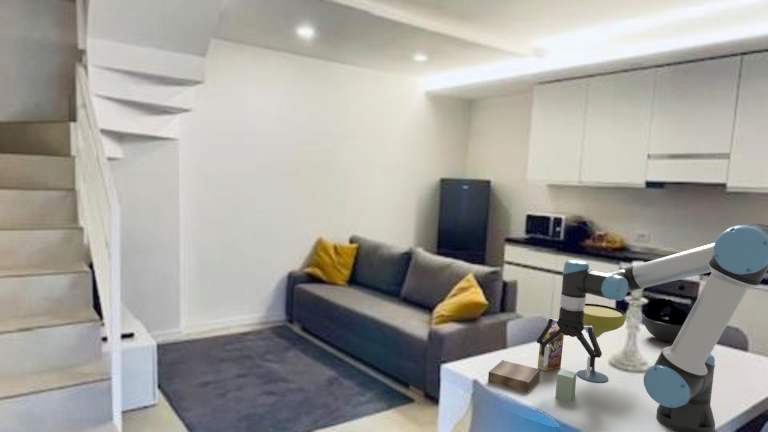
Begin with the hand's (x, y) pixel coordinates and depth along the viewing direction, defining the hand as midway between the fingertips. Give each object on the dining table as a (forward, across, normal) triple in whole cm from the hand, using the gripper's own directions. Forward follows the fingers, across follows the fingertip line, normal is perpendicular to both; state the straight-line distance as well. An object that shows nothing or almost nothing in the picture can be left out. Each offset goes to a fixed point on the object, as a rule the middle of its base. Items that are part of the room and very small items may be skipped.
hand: (566, 370), depth 166 cm
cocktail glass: (+9, -4, -24) cm, 26 cm away
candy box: (+9, +10, -22) cm, 26 cm away
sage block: (+9, 0, 0) cm, 9 cm away
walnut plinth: (+10, +18, -2) cm, 20 cm away
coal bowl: (+9, -24, -91) cm, 94 cm away
